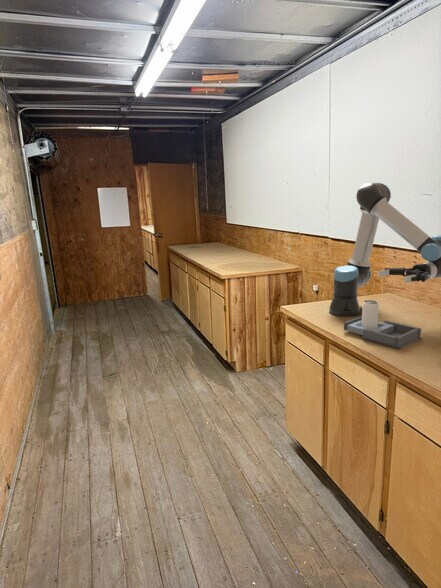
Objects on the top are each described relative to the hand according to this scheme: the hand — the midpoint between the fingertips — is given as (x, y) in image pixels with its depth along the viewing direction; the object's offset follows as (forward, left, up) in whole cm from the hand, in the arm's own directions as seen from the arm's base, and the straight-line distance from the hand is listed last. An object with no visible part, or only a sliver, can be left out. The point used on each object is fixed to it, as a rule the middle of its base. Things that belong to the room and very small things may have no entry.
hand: (391, 276), depth 168 cm
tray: (-3, -10, -23) cm, 25 cm away
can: (-3, -10, -22) cm, 24 cm away
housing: (+7, -10, -24) cm, 27 cm away
